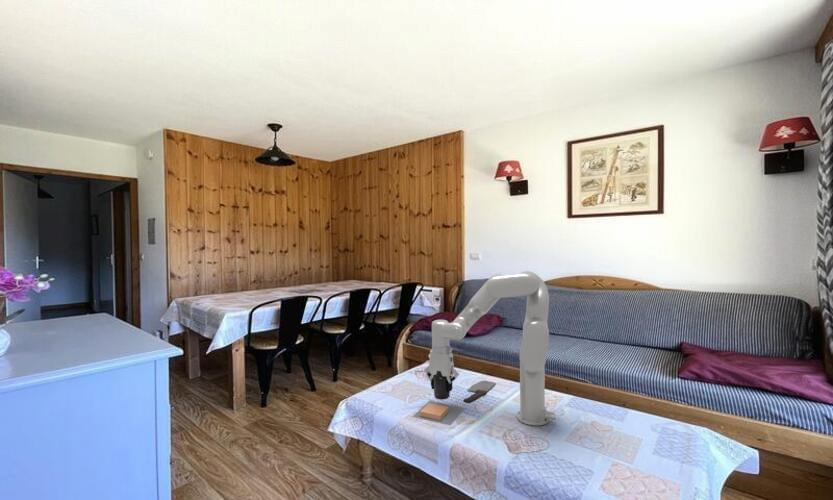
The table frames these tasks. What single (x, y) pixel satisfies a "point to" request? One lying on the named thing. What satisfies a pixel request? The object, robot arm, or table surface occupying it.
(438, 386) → the supplement bottle
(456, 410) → the slate mat
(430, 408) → the tile
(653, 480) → the table surface
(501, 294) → the robot arm
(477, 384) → the cleaver
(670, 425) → the table surface
